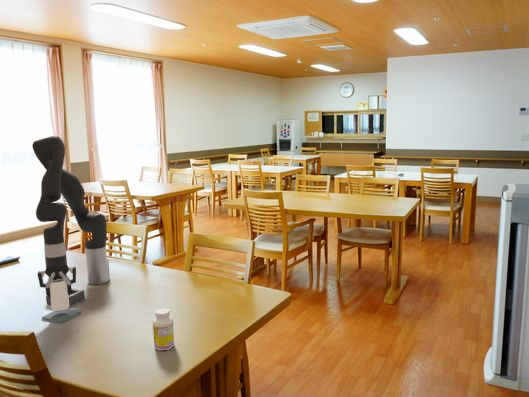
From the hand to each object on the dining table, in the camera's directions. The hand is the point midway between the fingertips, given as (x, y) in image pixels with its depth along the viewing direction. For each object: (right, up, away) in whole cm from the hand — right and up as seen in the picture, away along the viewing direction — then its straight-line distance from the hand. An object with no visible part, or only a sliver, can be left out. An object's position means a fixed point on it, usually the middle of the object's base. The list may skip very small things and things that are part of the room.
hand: (59, 295), depth 181 cm
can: (0, -6, +1) cm, 6 cm away
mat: (0, -9, +1) cm, 9 cm away
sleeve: (-4, -6, +16) cm, 18 cm away
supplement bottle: (+47, -13, -25) cm, 54 cm away
